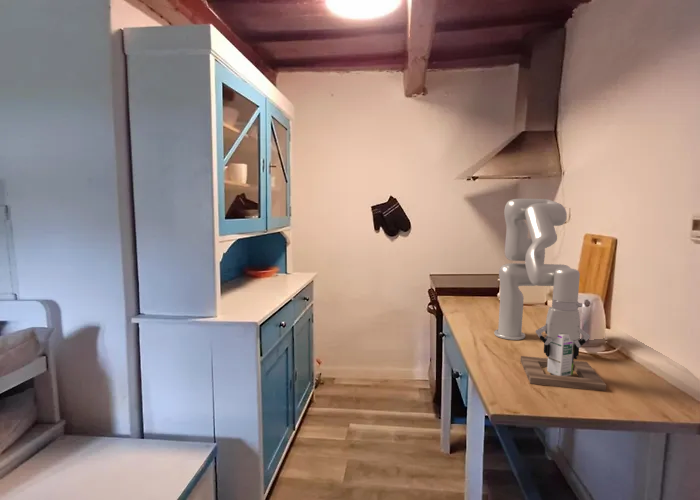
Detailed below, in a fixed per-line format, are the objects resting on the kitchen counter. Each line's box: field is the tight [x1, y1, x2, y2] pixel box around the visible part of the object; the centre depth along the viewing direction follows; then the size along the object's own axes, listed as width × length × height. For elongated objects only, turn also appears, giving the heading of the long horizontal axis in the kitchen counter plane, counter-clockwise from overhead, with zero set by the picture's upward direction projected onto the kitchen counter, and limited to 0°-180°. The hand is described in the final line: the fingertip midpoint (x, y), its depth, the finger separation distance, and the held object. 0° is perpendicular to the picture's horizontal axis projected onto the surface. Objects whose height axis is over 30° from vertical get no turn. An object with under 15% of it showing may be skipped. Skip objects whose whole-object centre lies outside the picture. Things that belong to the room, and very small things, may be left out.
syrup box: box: [546, 333, 575, 377], centre depth 147 cm, size 6×6×14 cm
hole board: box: [520, 355, 607, 392], centre depth 147 cm, size 20×22×2 cm
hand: (560, 356), depth 147 cm, fingers closed on syrup box, 7 cm apart
